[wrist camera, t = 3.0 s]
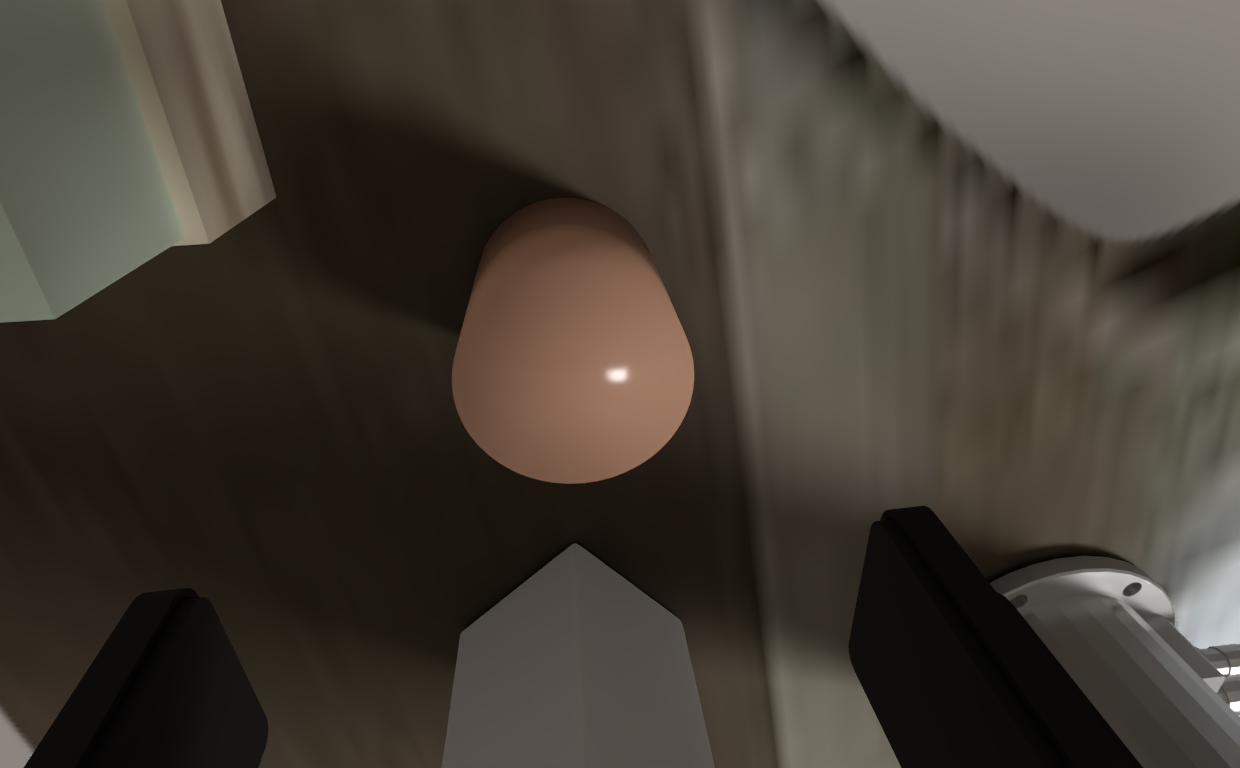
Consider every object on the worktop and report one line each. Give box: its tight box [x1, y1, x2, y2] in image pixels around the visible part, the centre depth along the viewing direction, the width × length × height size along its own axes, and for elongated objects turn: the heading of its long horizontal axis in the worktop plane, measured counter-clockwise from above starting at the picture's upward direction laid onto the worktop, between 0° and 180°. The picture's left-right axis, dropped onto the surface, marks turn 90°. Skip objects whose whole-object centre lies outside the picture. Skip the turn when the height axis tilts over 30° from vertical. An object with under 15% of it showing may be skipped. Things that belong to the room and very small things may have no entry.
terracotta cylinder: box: [452, 198, 694, 484], centre depth 20 cm, size 6×6×7 cm
